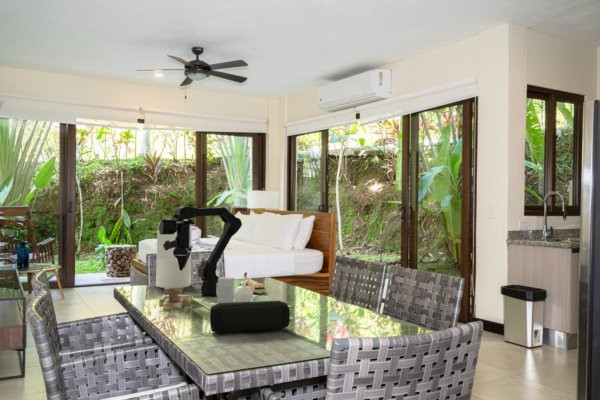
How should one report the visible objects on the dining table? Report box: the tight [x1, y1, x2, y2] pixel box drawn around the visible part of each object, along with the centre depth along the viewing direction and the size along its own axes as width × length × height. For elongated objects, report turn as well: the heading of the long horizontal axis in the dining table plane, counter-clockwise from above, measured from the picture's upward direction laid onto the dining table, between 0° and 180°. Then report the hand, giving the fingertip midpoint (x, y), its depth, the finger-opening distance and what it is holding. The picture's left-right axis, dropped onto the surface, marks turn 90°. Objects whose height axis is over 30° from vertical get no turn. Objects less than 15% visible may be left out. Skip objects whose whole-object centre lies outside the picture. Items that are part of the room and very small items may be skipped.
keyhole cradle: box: [158, 294, 193, 310], centre depth 204 cm, size 12×18×2 cm
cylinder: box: [155, 229, 192, 289], centre depth 253 cm, size 17×17×28 cm
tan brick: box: [163, 287, 184, 303], centre depth 199 cm, size 7×3×8 cm, turn 97°
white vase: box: [233, 281, 254, 302], centre depth 192 cm, size 8×8×12 cm
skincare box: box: [216, 276, 235, 304], centre depth 202 cm, size 6×4×12 cm
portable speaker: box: [209, 300, 291, 335], centre depth 165 cm, size 26×10×10 cm, turn 109°
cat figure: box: [238, 271, 268, 294], centre depth 243 cm, size 10×9×25 cm
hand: (182, 269), depth 220 cm, fingers open, 9 cm apart
